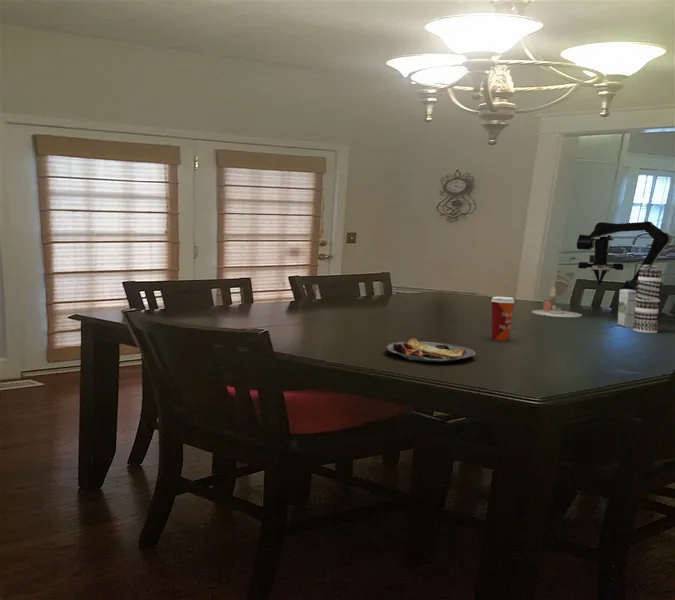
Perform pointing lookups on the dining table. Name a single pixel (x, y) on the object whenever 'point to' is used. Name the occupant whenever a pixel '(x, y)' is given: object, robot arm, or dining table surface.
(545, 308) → the stop block
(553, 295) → the crank
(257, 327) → the dining table surface
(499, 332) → the paper cup
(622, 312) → the syrup box
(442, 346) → the food plate
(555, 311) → the dial plate
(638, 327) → the decorative candle
